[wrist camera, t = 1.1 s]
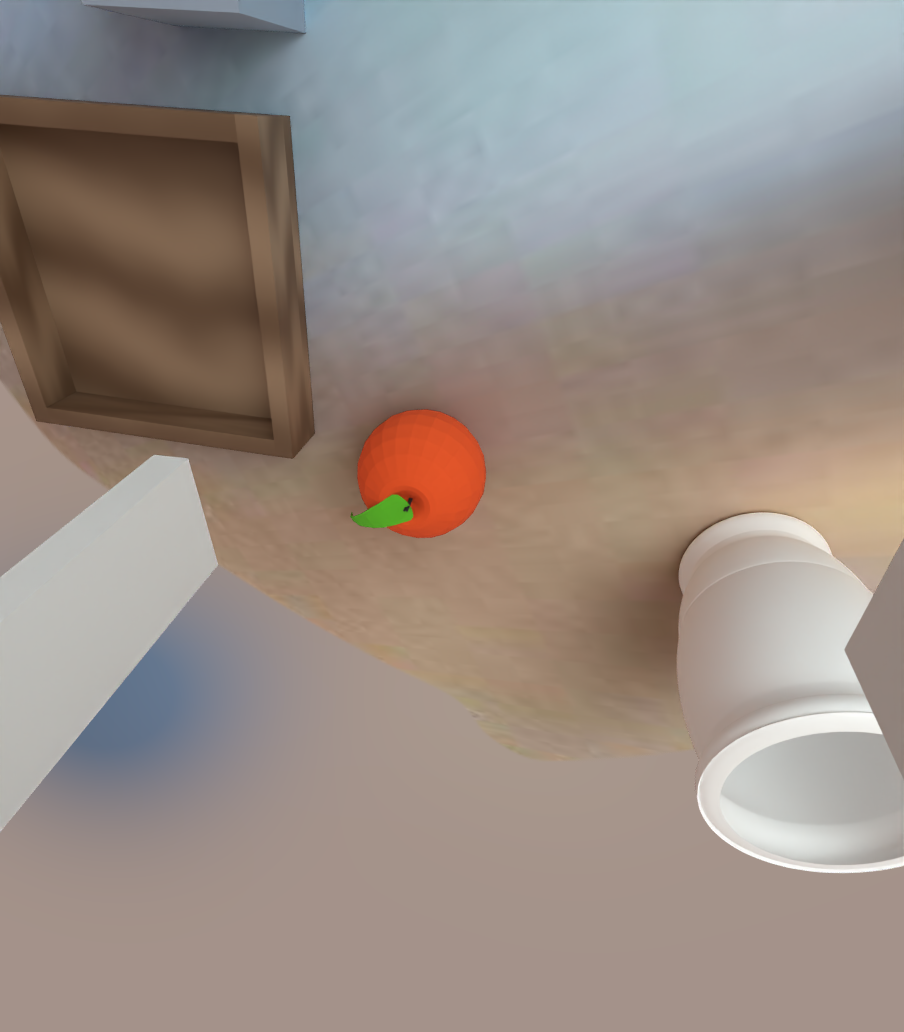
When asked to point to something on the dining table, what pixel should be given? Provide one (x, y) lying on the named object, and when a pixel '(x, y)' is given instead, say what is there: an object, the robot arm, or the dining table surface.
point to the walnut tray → (155, 272)
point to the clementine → (420, 474)
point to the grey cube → (214, 13)
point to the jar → (783, 700)
